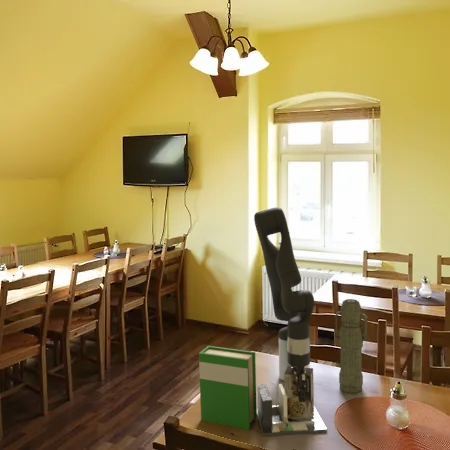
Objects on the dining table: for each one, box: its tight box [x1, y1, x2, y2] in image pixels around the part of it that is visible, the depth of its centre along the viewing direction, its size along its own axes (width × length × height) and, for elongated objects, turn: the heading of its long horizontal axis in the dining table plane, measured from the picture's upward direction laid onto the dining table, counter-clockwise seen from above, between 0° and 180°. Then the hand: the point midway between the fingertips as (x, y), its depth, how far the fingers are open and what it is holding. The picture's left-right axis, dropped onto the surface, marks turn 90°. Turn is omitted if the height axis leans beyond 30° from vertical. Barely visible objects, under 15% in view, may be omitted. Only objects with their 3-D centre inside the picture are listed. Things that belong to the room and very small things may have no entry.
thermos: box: [334, 298, 368, 395], centre depth 185 cm, size 9×12×35 cm
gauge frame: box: [256, 383, 328, 437], centre depth 163 cm, size 16×21×11 cm
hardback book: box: [198, 345, 258, 430], centre depth 165 cm, size 18×7×24 cm, turn 66°
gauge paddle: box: [277, 383, 288, 427], centre depth 161 cm, size 12×1×10 cm, turn 4°
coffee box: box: [284, 366, 315, 420], centre depth 163 cm, size 9×6×16 cm
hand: (299, 395), depth 163 cm, fingers closed on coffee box, 8 cm apart
